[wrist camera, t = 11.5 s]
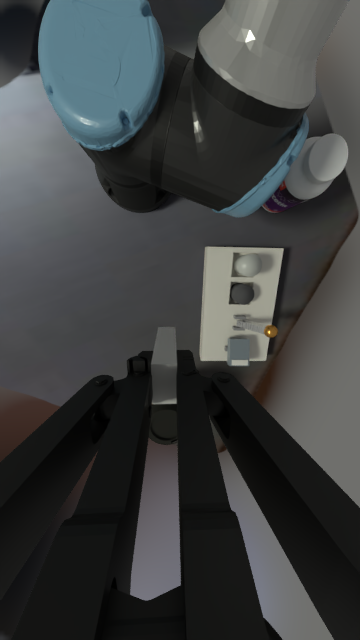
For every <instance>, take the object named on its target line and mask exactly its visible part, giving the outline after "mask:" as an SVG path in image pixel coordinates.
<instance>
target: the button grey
mask: <svg viewBox="0 0 360 640" xmlns="http://www.w3.org/2000/svg"><path fill="white" fill-rule="evenodd" d="M234 268H235V271H236V272H237V273H238V274H239V275H243V276H248V277H252V276H255V275H257V274H258V273H259V272H260V270H261V268H262V261H261V258H260V257H259V256H258V255H256V254H246V255H241V256H239V257H238V258H237V259H236V261H235V263H234Z"/></svg>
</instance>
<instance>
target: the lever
mask: <svg viewBox="0 0 360 640" xmlns="http://www.w3.org/2000/svg"><path fill="white" fill-rule="evenodd" d="M236 326H237V327H241V328H244V329H248V330H251V331H254V332H258V333H261V334H264V335H265V336H267V337H269V338H273V337H275V336H276V335H277V333H278V329H277V328H276V327H275V326H274V325H263V324H260V323H256V322H252V321H248V320H244V319H239V320H237V324H236Z"/></svg>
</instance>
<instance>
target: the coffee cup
mask: <svg viewBox="0 0 360 640" xmlns="http://www.w3.org/2000/svg"><path fill="white" fill-rule="evenodd" d="M149 438H150V439H151V440H152V441H154V442H156V443H158V444H163V445H170V444H174V443H177V404H153V403H152V415H151V423H150V430H149Z"/></svg>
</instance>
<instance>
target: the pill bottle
mask: <svg viewBox="0 0 360 640" xmlns="http://www.w3.org/2000/svg"><path fill="white" fill-rule="evenodd" d="M347 159H348V146H347V143H346V141H345V140H344V138H343V137H342V136H340V135H338V134H334V133H331V134H327V135H324V136H322V137H311V138H308V139H306V141H305V143H304V146H303V148H302V150H301V152H300V154H299V156H298V158H297V159H296V160H295V161H294V162H293V163H292V164H291V166H290V171H289V173H288V175H287V176H286V178H285V179H284V181H283V182H282V183H281V185H280V186H279V187H278V189H277V190H276V191H275V192H274V194H273V195H272V196H271V197H270V198H269V199H268V200H267V201H266V202H265V203H264V204H263V205H262V207H263V208H264V209H265V210H267V211H269V212H272V213H278V212H282V211H284V210H286V209H289V208H291V207H293V206H296V205H298V204H300V203H302V202H305V201H307V200H309V199H312V198H314V197H316V196H318V195H320V194H321V193H323V192H324V191H325V190H326V189H327V188H328V187H329V186H330V184H331V183H332V181H333V180H334V178H335V177H337V176H338V175H339V174H340V173H341V172H342V170H343V169H344V167H345V165H346V162H347Z"/></svg>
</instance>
